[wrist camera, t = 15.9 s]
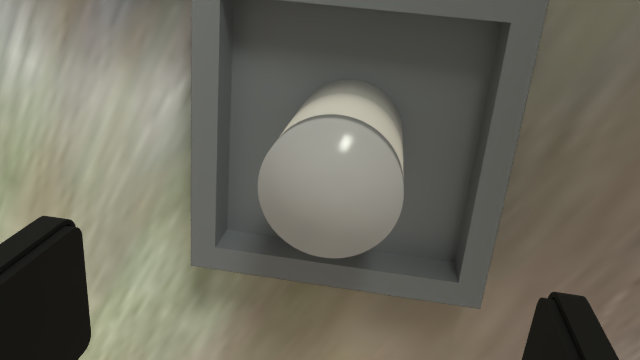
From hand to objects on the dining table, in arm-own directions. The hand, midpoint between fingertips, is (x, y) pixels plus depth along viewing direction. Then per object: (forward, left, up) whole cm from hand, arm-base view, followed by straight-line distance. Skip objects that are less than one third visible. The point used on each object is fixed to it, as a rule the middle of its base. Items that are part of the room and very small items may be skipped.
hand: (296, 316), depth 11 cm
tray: (0, 0, -17) cm, 16 cm away
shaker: (0, 0, -15) cm, 15 cm away
